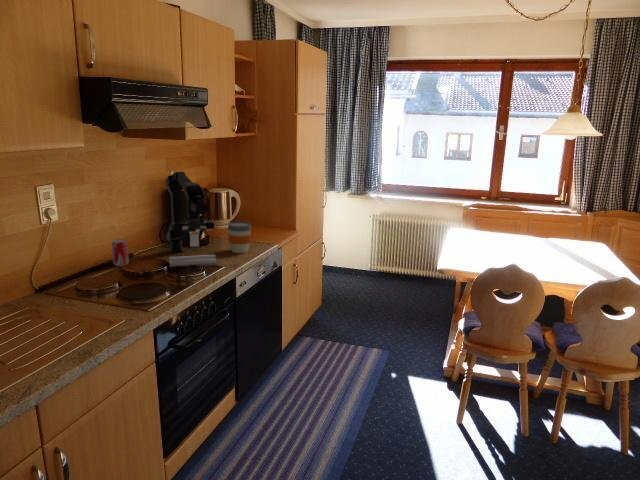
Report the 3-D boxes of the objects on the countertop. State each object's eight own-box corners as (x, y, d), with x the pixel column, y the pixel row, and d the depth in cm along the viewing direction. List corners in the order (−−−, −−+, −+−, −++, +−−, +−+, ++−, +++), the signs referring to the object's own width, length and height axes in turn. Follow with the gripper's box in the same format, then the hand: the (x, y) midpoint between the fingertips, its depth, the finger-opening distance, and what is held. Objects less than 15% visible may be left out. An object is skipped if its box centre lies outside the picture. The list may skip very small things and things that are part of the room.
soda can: (110, 264, 225) (108, 240, 222) (125, 261, 230) (123, 238, 227) (116, 268, 220) (114, 243, 217) (131, 265, 225) (130, 241, 222)
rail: (169, 262, 232) (169, 256, 231) (214, 259, 239) (214, 254, 238) (169, 268, 222) (169, 262, 222) (217, 265, 229) (216, 259, 229)
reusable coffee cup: (235, 255, 248) (235, 227, 245) (223, 249, 258) (223, 222, 254) (255, 251, 256) (255, 224, 253) (243, 246, 266) (243, 220, 262)
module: (189, 243, 230) (189, 231, 228) (198, 243, 231) (198, 231, 230) (190, 246, 225) (190, 234, 224) (199, 246, 227) (198, 233, 225)
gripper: (173, 214, 214) (174, 247, 218) (215, 213, 220) (215, 245, 224) (172, 210, 224) (174, 241, 228) (212, 209, 230) (213, 240, 234)
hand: (194, 242), depth 228 cm, fingers closed on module, 4 cm apart
